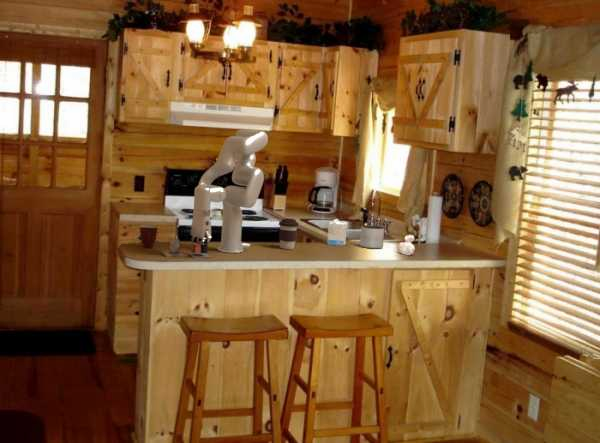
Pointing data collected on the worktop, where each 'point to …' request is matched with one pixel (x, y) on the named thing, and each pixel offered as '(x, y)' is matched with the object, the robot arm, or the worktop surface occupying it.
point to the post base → (167, 253)
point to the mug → (148, 235)
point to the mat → (198, 255)
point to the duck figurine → (407, 246)
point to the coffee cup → (288, 233)
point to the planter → (372, 237)
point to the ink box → (337, 233)
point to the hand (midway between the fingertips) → (199, 251)
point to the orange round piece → (196, 247)
